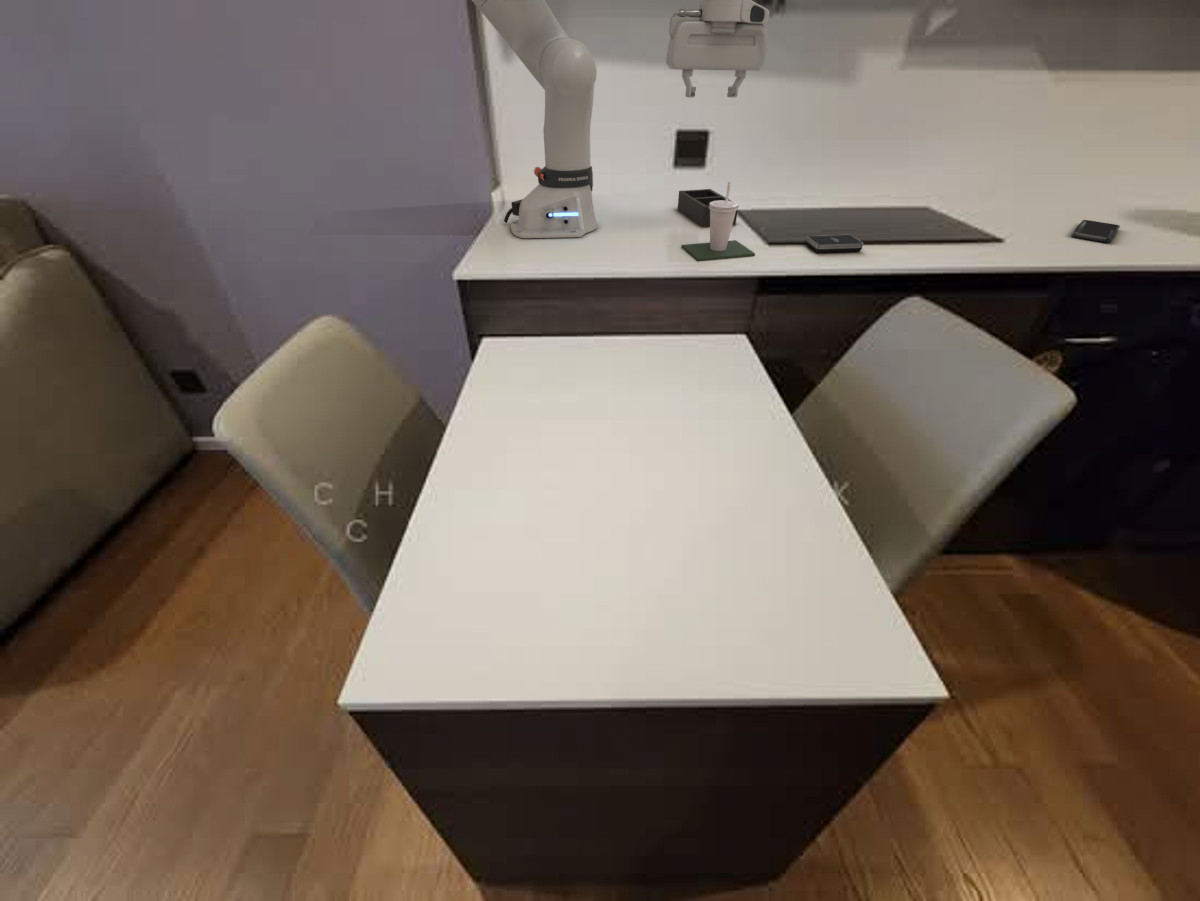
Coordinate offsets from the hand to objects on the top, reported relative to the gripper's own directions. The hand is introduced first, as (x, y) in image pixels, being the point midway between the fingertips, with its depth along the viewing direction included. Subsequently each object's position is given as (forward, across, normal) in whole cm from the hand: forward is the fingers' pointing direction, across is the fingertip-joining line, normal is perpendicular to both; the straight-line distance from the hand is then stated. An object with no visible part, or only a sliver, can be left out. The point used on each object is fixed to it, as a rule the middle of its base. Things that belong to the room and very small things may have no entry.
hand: (711, 97), depth 109 cm
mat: (+29, +3, -8) cm, 30 cm away
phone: (+27, +100, -20) cm, 105 cm away
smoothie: (+29, +3, -8) cm, 30 cm away
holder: (+29, +12, +20) cm, 37 cm away
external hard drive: (+29, +30, -13) cm, 43 cm away
